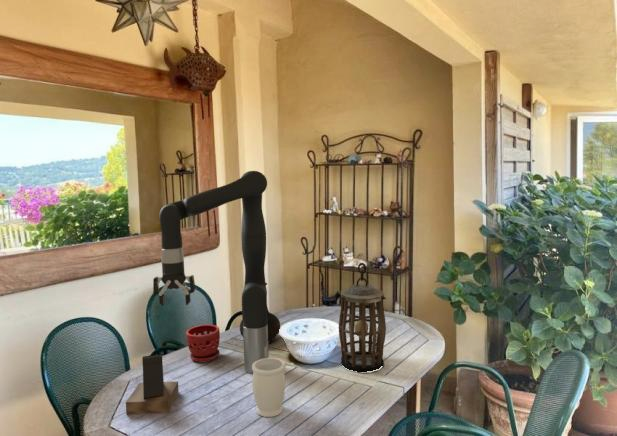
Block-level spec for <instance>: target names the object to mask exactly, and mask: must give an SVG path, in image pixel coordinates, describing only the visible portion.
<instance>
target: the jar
mask: <svg viewBox="0 0 617 436" xmlns="http://www.w3.org/2000/svg"><path fill="white" fill-rule="evenodd" d="M285 367H286V364H285V362H284V361H283V360H281V359H279V358H275V357H269V358H265V359H260V360H257V361H255V362H254V363H253V364H252V370H253V371H254V372H253V373H252V377H251V379H252V380H251V384H252V385H251V387H252V393H253V396H254V397H253V398H254V402H255V404H256V409H255V410H256V413H257V414H258V415H259V416H261V417H265V418H272V417H276V416H278V415H280V414H282V412H283V405H282V404H283V402H284V398H285V390H286V374H285V371H284V370H285Z"/></svg>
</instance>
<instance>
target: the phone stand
mask: <svg viewBox="0 0 617 436" xmlns="http://www.w3.org/2000/svg"><path fill="white" fill-rule="evenodd" d="M141 361H142V383H143V394H144V399H146V398H153V397H160V396H164V382H165V381H164V366H163V354H162V353H160V354H152V355H145V356H142V360H141Z"/></svg>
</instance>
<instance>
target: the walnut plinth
mask: <svg viewBox="0 0 617 436" xmlns="http://www.w3.org/2000/svg"><path fill="white" fill-rule="evenodd" d="M179 393H180V391H179V381H164V396H160V397H153V398H146V399H144V394H143V382H139V383H138V384H137V385H136V386H135V388H134V390H133V391H132V393H131V394H130V396H129V397H128V398H127V400H126V401H125V411H126V412H125V413H126V415H146V414H147V415H148V414H167V413H170V411H171V409H172V407H173V404H174V403H175V401H176V398H177V397H178V395H179Z"/></svg>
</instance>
